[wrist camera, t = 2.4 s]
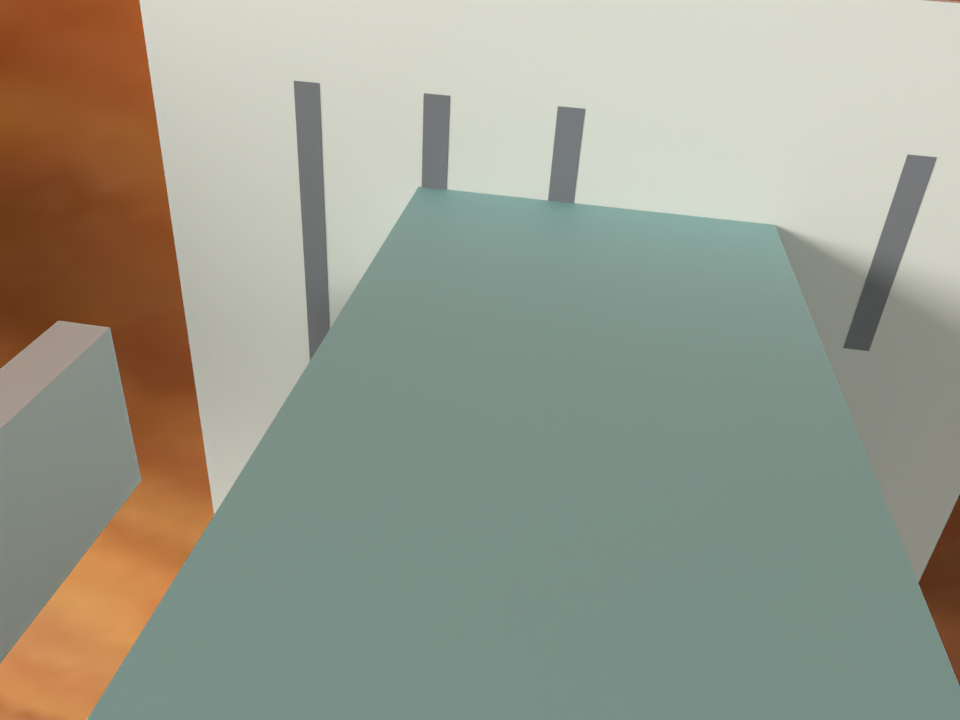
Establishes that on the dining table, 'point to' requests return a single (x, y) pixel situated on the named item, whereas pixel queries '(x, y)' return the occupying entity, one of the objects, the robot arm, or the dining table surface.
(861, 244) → the letter
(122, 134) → the dining table surface
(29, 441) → the robot arm
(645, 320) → the block
